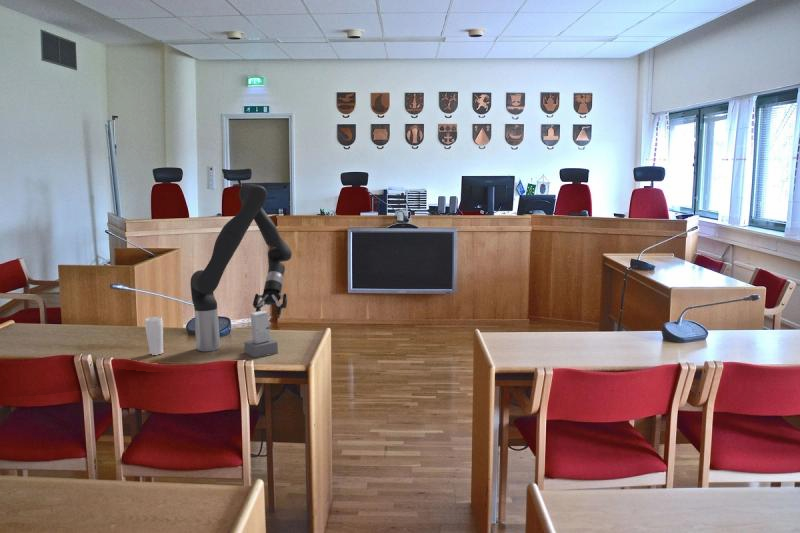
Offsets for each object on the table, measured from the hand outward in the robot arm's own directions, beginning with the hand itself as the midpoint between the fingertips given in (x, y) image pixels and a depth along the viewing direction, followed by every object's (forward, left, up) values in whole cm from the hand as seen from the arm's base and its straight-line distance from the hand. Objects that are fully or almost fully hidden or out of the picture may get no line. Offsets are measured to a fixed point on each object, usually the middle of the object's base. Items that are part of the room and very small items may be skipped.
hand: (267, 315), depth 277 cm
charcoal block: (+6, -10, -13) cm, 18 cm away
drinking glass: (-29, -35, -13) cm, 48 cm away
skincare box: (+7, -9, -8) cm, 14 cm away
